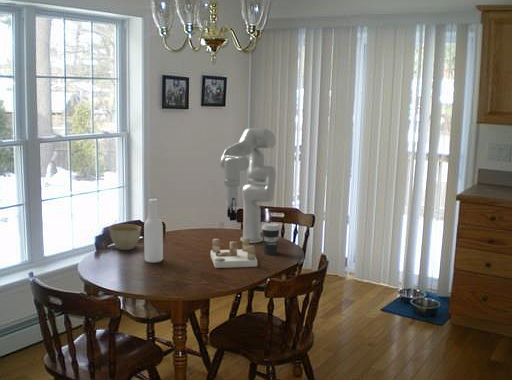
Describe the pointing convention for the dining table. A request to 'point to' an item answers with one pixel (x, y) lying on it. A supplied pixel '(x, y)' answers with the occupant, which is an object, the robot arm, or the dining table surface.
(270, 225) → the coffee cup
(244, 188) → the robot arm
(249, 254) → the fixed legs
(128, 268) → the dining table surface
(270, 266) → the dining table surface
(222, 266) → the footstool seat
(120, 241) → the planter bowl
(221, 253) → the swing leg
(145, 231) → the alcohol
